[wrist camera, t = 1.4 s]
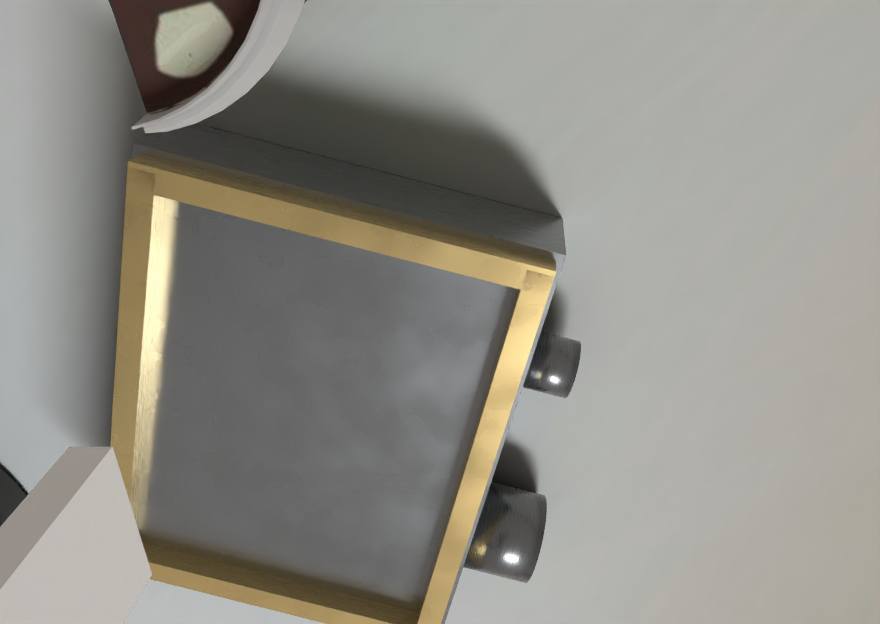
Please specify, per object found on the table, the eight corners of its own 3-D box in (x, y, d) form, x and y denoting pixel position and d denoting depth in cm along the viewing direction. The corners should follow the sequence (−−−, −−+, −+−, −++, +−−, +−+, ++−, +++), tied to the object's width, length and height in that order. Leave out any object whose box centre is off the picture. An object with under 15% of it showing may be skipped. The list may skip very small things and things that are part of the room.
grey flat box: (142, 500, 42) (96, 570, 37) (176, 118, 33) (119, 150, 28) (504, 591, 42) (500, 672, 38) (634, 237, 33) (650, 287, 29)
